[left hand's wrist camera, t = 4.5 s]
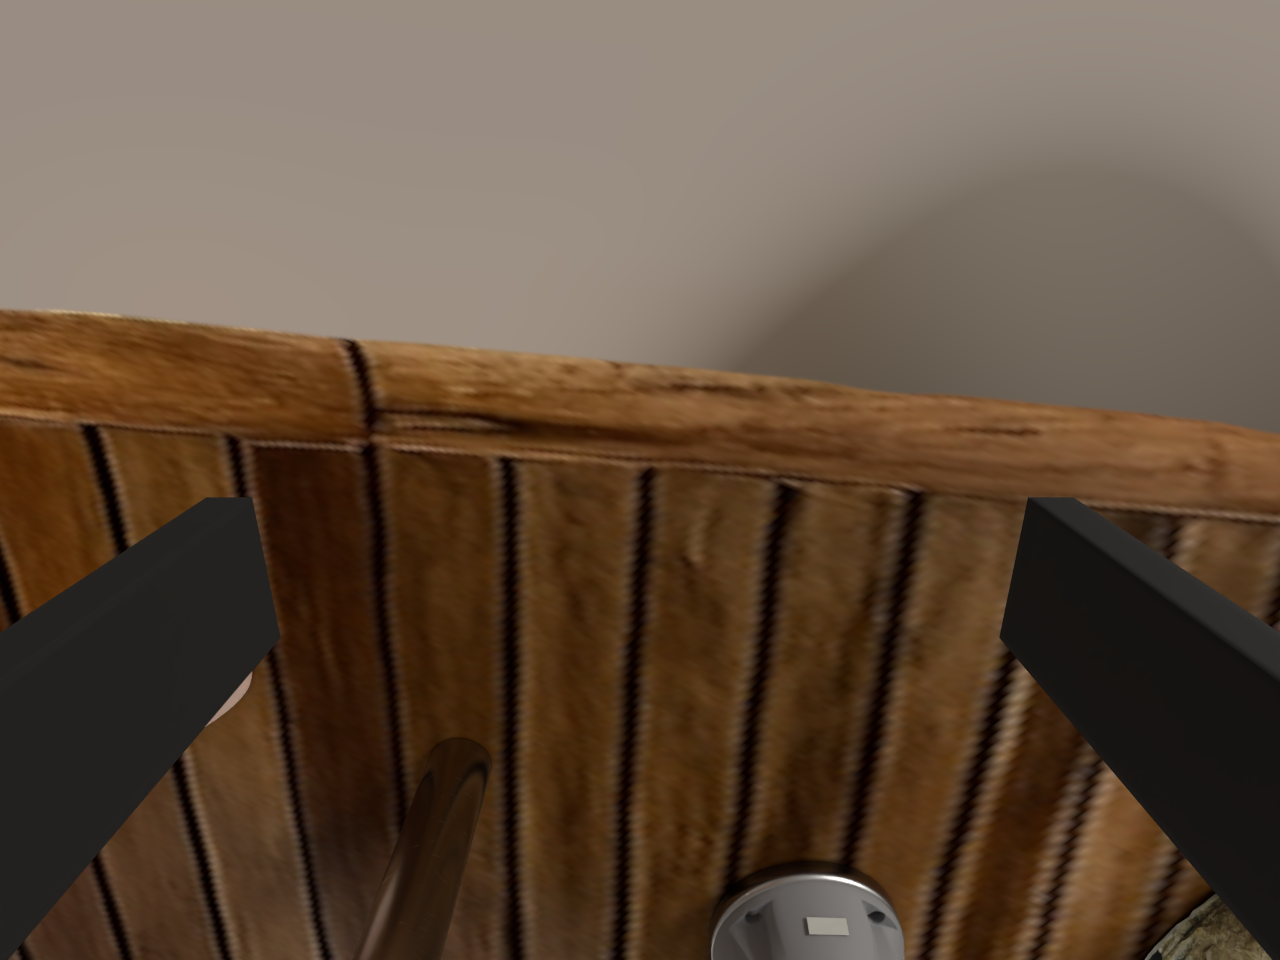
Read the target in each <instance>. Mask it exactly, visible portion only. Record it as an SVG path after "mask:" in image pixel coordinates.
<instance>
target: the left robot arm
mask: <svg viewBox="0 0 1280 960" xmlns="http://www.w3.org/2000/svg"><path fill="white" fill-rule="evenodd" d="M279 639H280V633H279V628H278V623H277V618H276V613H275V608H274V603H273V599H272V594H271V589H270V584H269V579H268V574H267V569H266V564H265V559H264V555H263V550H262V545H261V540H260V535H259V530H258V525H257V520H256V516H255V511H254V506H253V501H252V498H205V499H204V500H202V501H200V502H199V503H197V504H196V505H194V506H193V507H191V508H190V509H188V510H187V511H185V512H184V513H182V514H181V515H179V516H178V517H176V518H175V519H173V520H171V521H170V522H168V523H167V524H165V525H164V526H162V527H161V528H159V529H158V530H156V531H155V532H153V533H152V534H150V535H149V536H147V537H146V538H144V539H143V540H141V541H139V542H138V543H136V544H135V545H133V546H132V547H130V548H129V549H127V550H126V551H124V552H123V553H121V554H120V555H118V556H117V557H115V558H114V559H112V560H111V561H109V562H107V563H106V564H104V565H103V566H101V567H100V568H98V569H97V570H95V571H94V572H92V573H91V574H89V575H88V576H86V577H85V578H83V579H82V580H80V581H79V582H77V583H75V584H74V585H72V586H71V587H69V588H68V589H66V590H65V591H63V592H62V593H60V594H59V595H57V596H56V597H54V598H53V599H51V600H50V601H48V602H46V603H45V604H43V605H42V606H40V607H39V608H37V609H36V610H34V611H33V612H31V613H30V614H28V615H27V616H25V617H24V618H22V619H21V620H19V621H18V622H16V623H14V624H13V625H11V626H10V627H8V628H7V629H5V630H4V631H2V632H1V633H0V960H8V959H9V958H10V957H11V955H12V954H13V953H14V952H15V951H16V950H17V948H18V947H19V946H20V945H21V944H22V942H23V941H24V940H25V939H26V938H27V937H28V935H29V934H30V933H31V932H32V931H33V929H34V928H35V927H36V926H37V925H38V924H39V922H40V921H41V920H42V919H43V918H44V916H45V915H46V914H47V913H48V912H49V911H50V909H51V908H52V907H53V906H54V905H55V903H56V902H57V901H58V900H59V899H60V898H61V896H62V895H63V894H64V893H65V892H66V890H67V889H68V888H69V887H70V886H71V885H72V883H73V882H74V881H75V880H76V879H77V877H78V876H79V875H80V874H81V873H82V872H83V870H84V869H85V868H86V867H87V866H88V864H89V863H90V862H91V861H92V860H93V859H94V857H95V856H96V855H97V854H98V853H99V852H100V850H101V849H102V848H103V847H104V846H105V844H106V843H107V842H108V841H109V840H110V839H111V837H112V836H113V835H114V834H115V833H116V831H117V830H118V829H119V828H120V827H121V826H122V824H123V823H124V822H125V821H126V820H127V818H128V817H129V816H130V815H131V814H132V813H133V811H134V810H135V809H136V808H137V807H138V805H139V804H140V803H141V802H142V801H143V800H144V798H145V797H146V796H147V795H148V794H149V792H150V791H151V790H152V789H153V788H154V787H155V785H156V784H157V783H158V782H159V781H160V779H161V778H162V777H163V776H164V775H165V774H166V772H167V771H168V770H169V769H170V768H171V766H172V765H173V764H174V763H175V762H176V761H177V759H178V758H179V757H180V756H181V755H182V753H183V752H184V751H185V750H186V749H187V748H188V746H189V745H190V744H191V743H192V742H193V740H194V739H195V738H196V737H197V736H198V735H199V733H200V732H201V731H202V730H203V729H204V727H205V726H206V725H207V724H208V723H209V722H210V720H211V719H212V718H213V717H214V716H215V715H216V713H217V712H218V711H219V710H220V709H221V707H222V706H223V705H224V704H225V703H226V702H227V700H228V699H229V698H230V697H231V696H232V694H233V693H234V692H235V691H236V690H237V689H238V687H239V686H240V685H241V684H242V683H243V681H244V680H245V679H246V678H247V677H248V676H249V674H250V673H251V672H252V671H253V670H254V668H255V667H256V666H257V665H258V664H259V663H260V661H261V660H262V659H263V658H264V657H265V655H266V654H267V653H268V652H269V651H270V650H271V648H272V647H273V646H274V645H275V644H276V642H277V641H278V640H279ZM1000 639H1001V640H1002V641H1003V642H1004V644H1005V645H1006V646H1007V647H1008V648H1009V650H1010V651H1011V652H1012V653H1013V654H1014V655H1015V657H1016V658H1017V659H1018V660H1019V661H1020V663H1021V664H1022V665H1023V666H1024V667H1025V668H1026V670H1027V671H1028V672H1029V673H1030V674H1031V676H1032V677H1033V678H1034V679H1035V680H1036V681H1037V683H1038V684H1039V685H1040V686H1041V687H1042V689H1043V690H1044V691H1045V692H1046V693H1047V694H1048V696H1049V697H1050V698H1051V699H1052V700H1053V702H1054V703H1055V704H1056V705H1057V706H1058V707H1059V709H1060V710H1061V711H1062V712H1063V713H1064V715H1065V716H1066V717H1067V718H1068V719H1069V720H1070V722H1071V723H1072V724H1073V725H1074V726H1075V727H1076V729H1077V730H1078V731H1079V732H1080V733H1081V735H1082V736H1083V737H1084V738H1085V739H1086V740H1087V742H1088V743H1089V744H1090V745H1091V746H1092V748H1093V749H1094V750H1095V751H1096V752H1097V753H1098V755H1099V756H1100V757H1101V758H1102V759H1103V761H1104V762H1105V763H1106V764H1107V765H1108V766H1109V768H1110V769H1111V770H1112V771H1113V772H1114V774H1115V775H1116V776H1117V777H1118V778H1119V779H1120V781H1121V782H1122V783H1123V784H1124V785H1125V787H1126V788H1127V789H1128V790H1129V791H1130V792H1131V794H1132V795H1133V796H1134V797H1135V798H1136V800H1137V801H1138V802H1139V803H1140V804H1141V805H1142V807H1143V808H1144V809H1145V810H1146V811H1147V813H1148V814H1149V815H1150V816H1151V817H1152V818H1153V820H1154V821H1155V822H1156V823H1157V824H1158V826H1159V827H1160V828H1161V829H1162V830H1163V831H1164V833H1165V834H1166V835H1167V836H1168V837H1169V839H1170V840H1171V841H1172V842H1173V843H1174V844H1175V846H1176V847H1177V848H1178V849H1179V850H1180V852H1181V853H1182V854H1183V855H1184V856H1185V857H1186V859H1187V860H1188V861H1189V862H1190V863H1191V864H1192V866H1193V867H1194V868H1195V869H1196V870H1197V872H1198V873H1199V874H1200V875H1201V876H1202V877H1203V879H1204V880H1205V881H1206V882H1207V883H1208V885H1209V886H1210V887H1211V888H1212V889H1213V890H1214V892H1215V893H1216V894H1217V895H1218V896H1219V898H1220V899H1221V900H1222V901H1223V902H1224V903H1225V905H1226V906H1227V907H1228V908H1229V909H1230V911H1231V912H1232V913H1233V914H1234V915H1235V916H1236V918H1237V919H1238V920H1239V921H1240V922H1241V924H1242V925H1243V926H1244V927H1245V928H1246V929H1247V931H1248V932H1249V933H1250V934H1251V935H1252V937H1253V938H1254V939H1255V940H1256V941H1257V942H1258V944H1259V945H1260V946H1261V947H1262V948H1263V950H1264V951H1265V952H1266V953H1267V954H1268V955H1269V957H1270V958H1271V959H1272V960H1280V633H1279V632H1278V631H1276V630H1275V629H1273V628H1272V627H1270V626H1269V625H1267V624H1266V623H1264V622H1262V621H1261V620H1259V619H1258V618H1256V617H1255V616H1253V615H1252V614H1250V613H1249V612H1247V611H1246V610H1244V609H1243V608H1241V607H1240V606H1238V605H1237V604H1235V603H1234V602H1232V601H1230V600H1229V599H1227V598H1226V597H1224V596H1223V595H1221V594H1220V593H1218V592H1217V591H1215V590H1214V589H1212V588H1211V587H1209V586H1208V585H1206V584H1205V583H1203V582H1201V581H1200V580H1198V579H1197V578H1195V577H1194V576H1192V575H1191V574H1189V573H1188V572H1186V571H1185V570H1183V569H1182V568H1180V567H1179V566H1177V565H1176V564H1174V563H1173V562H1171V561H1169V560H1168V559H1166V558H1165V557H1163V556H1162V555H1160V554H1159V553H1157V552H1156V551H1154V550H1153V549H1151V548H1150V547H1148V546H1147V545H1145V544H1144V543H1142V542H1141V541H1139V540H1137V539H1136V538H1134V537H1133V536H1131V535H1130V534H1128V533H1127V532H1125V531H1124V530H1122V529H1121V528H1119V527H1118V526H1116V525H1115V524H1113V523H1112V522H1110V521H1109V520H1107V519H1105V518H1104V517H1102V516H1101V515H1099V514H1098V513H1096V512H1095V511H1093V510H1092V509H1090V508H1089V507H1087V506H1086V505H1084V504H1083V503H1081V502H1080V501H1078V500H1076V499H1075V498H1028V501H1027V506H1026V511H1025V516H1024V520H1023V525H1022V530H1021V535H1020V540H1019V545H1018V550H1017V555H1016V559H1015V564H1014V569H1013V574H1012V579H1011V584H1010V589H1009V594H1008V599H1007V603H1006V608H1005V613H1004V618H1003V623H1002V628H1001V633H1000ZM710 947H711V957H712V960H905V959H904V936H903V931H902V928H901V925H900V922H899V919H898V916H897V914H896V911H895V908H894V906H893V903H892V901H891V899H890V898H889V896H888V895H887V893H886V892H885V891H884V889H883V888H882V887H881V886H880V885H879V884H878V883H876V882H875V881H874V880H873V879H871V878H870V877H868V876H866V875H865V874H863V873H861V872H859V871H857V870H855V869H852V868H849V867H846V866H843V865H839V864H834V863H829V862H819V861H802V862H792V863H786V864H781V865H777V866H774V867H770V868H768V869H765V870H762V871H760V872H758V873H755V874H753V875H751V876H750V877H748V878H746V879H745V880H743V881H741V882H740V883H739V884H737V885H736V886H735V887H733V888H732V889H731V890H730V891H729V892H728V893H727V894H726V895H725V896H724V898H723V899H722V900H721V902H720V903H719V904H718V906H717V908H716V910H715V912H714V914H713V917H712V920H711V924H710Z"/></svg>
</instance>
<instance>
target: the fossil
mask: <svg viewBox="0 0 1280 960" xmlns="http://www.w3.org/2000/svg"><path fill="white" fill-rule="evenodd" d="M1145 960H1272V959H1271V958H1270V957H1269V955H1268V954H1267V953H1266V952H1265V951H1264V950H1263V948H1262V947H1261V946H1260V945H1259V944H1258V942H1257V941H1256V940H1255V939H1254V938H1253V937H1252V935H1251V934H1250V933H1249V932H1248V931H1247V929H1246V928H1245V927H1244V926H1243V925H1242V924H1241V922H1240V921H1239V920H1238V919H1237V918H1236V916H1235V915H1234V914H1233V913H1232V912H1231V911H1230V909H1229V908H1228V907H1227V906H1226V905H1225V903H1224V902H1223V901H1222V900H1221V899H1220V898H1219V896H1218V895H1217V894H1215V895H1213V896H1212V897H1211V898H1210V899H1208V900H1207V901H1206V902H1205V903H1203V904H1202V905H1201V906H1199V907H1198V908H1196V909H1195V910H1193V911H1192V913H1191V915H1190V916H1189V917H1188V918H1186V919H1185V920H1183V921H1182V922H1180V923H1179V924H1177V925H1176V926H1175V927H1174V928H1173V929H1172V930H1171V931H1170V932H1169V933H1168V934H1167V935H1166V936H1165V937H1164V938H1163V939H1162V940H1161V941H1160V942H1159V943H1158V944H1157V945H1156V946H1155V947H1154V948H1153V950H1152V951H1151V952H1150V953H1149V954H1148V956H1147V957H1146V959H1145Z"/></svg>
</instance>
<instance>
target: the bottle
mask: <svg viewBox="0 0 1280 960" xmlns="http://www.w3.org/2000/svg"><path fill="white" fill-rule="evenodd" d="M491 768H492V762H491V758H490V756H489V754H488V752H487V751H486V750H485V749H484V748H483V747H482V746H481V745H479V744H478V743H476V742H474V741H471V740H468V739H463V738H453V739H448V740H445V741H443V742H441V743H440V744H438V745H437V746H436V747H435V748H434V749H433V751H432V753H431V755H430V758H429V760H428V763H427V766H426V768H425V771H424V773H423V776H422V778H421V781H420V784H419V786H418V789H417V791H416V794H415V797H414V799H413V802H412V804H411V807H410V809H409V812H408V815H407V817H406V820H405V822H404V825H403V828H402V830H401V833H400V835H399V838H398V841H397V843H396V846H395V848H394V851H393V853H392V856H391V859H390V861H389V864H388V866H387V869H386V872H385V874H384V877H383V879H382V882H381V885H380V887H379V890H378V892H377V895H376V897H375V900H374V903H373V905H372V908H371V910H370V913H369V916H368V918H367V921H366V923H365V926H364V928H363V931H362V934H361V936H360V939H359V941H358V944H357V947H356V949H355V952H354V954H353V957H352V960H441V956H442V952H443V948H444V945H445V941H446V937H447V933H448V930H449V926H450V922H451V918H452V915H453V911H454V907H455V903H456V900H457V896H458V892H459V889H460V885H461V881H462V877H463V874H464V870H465V866H466V862H467V859H468V855H469V851H470V847H471V844H472V840H473V836H474V832H475V829H476V825H477V821H478V817H479V814H480V810H481V806H482V802H483V799H484V795H485V791H486V787H487V784H488V780H489V776H490V773H491Z"/></svg>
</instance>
